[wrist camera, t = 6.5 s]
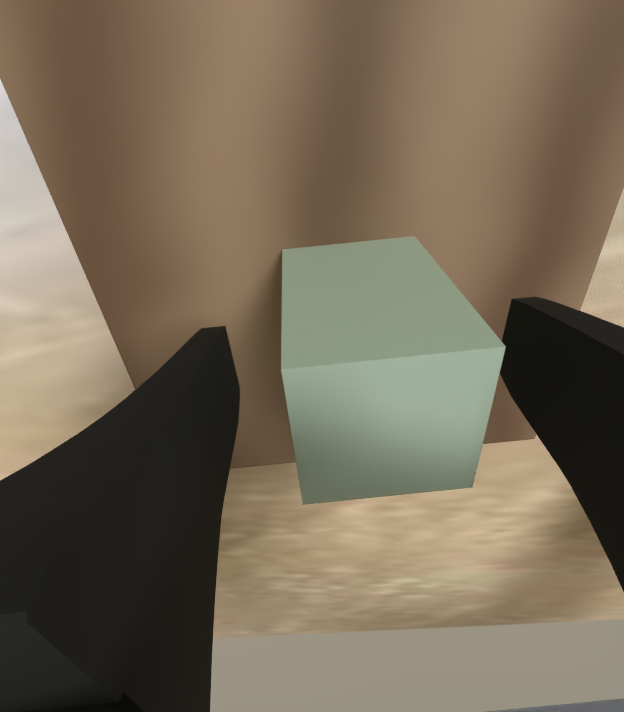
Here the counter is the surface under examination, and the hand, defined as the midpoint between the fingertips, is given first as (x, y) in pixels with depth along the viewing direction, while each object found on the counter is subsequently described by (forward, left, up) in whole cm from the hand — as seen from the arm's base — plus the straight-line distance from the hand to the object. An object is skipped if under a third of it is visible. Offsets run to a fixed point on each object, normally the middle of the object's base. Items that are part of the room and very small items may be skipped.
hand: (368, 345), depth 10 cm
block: (0, 0, -3) cm, 3 cm away
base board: (0, 0, -5) cm, 5 cm away
